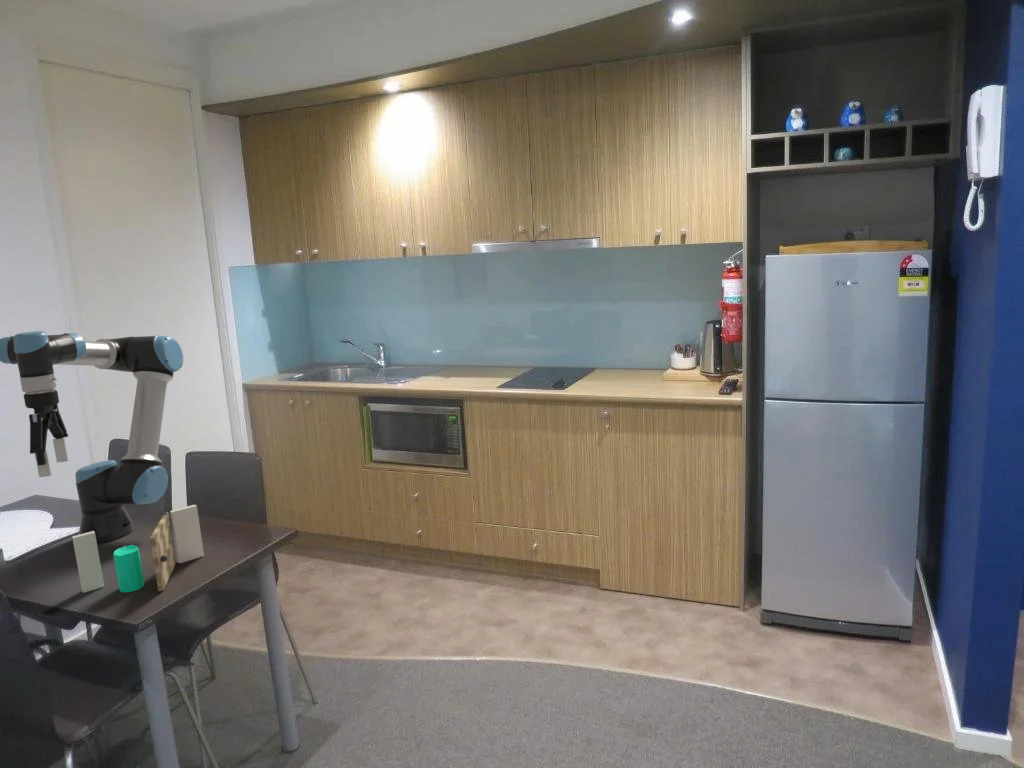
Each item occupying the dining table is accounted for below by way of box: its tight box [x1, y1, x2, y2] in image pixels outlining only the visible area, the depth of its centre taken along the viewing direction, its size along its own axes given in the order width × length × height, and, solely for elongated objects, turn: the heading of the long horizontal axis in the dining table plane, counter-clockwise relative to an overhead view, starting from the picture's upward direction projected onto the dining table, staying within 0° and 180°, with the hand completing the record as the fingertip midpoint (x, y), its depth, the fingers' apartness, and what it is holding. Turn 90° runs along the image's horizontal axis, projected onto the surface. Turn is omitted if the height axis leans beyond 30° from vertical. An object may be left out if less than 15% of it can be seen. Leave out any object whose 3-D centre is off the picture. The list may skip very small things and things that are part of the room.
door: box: [149, 514, 177, 592], centre depth 196 cm, size 17×3×15 cm, turn 14°
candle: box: [113, 544, 145, 593], centre depth 192 cm, size 6×6×12 cm
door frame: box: [71, 504, 205, 593], centre depth 200 cm, size 2×31×15 cm, turn 130°
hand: (54, 468), depth 194 cm, fingers open, 13 cm apart
